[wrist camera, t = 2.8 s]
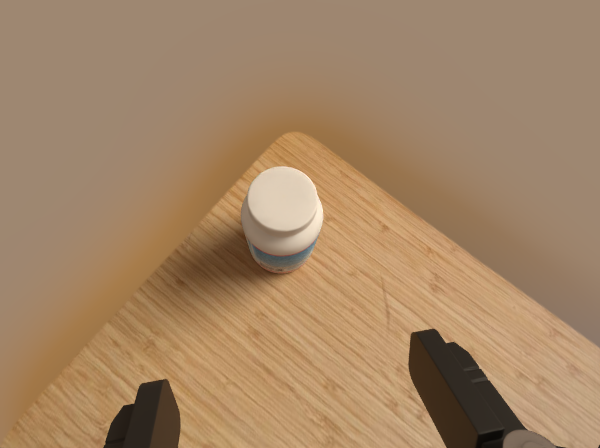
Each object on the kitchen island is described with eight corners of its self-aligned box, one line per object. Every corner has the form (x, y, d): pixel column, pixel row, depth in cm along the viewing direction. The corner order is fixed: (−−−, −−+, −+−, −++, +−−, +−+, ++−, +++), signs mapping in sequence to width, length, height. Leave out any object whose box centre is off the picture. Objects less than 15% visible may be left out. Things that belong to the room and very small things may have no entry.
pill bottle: (326, 242, 35) (349, 198, 24) (281, 288, 33) (283, 263, 22) (281, 199, 36) (283, 138, 25) (235, 242, 34) (216, 197, 23)
